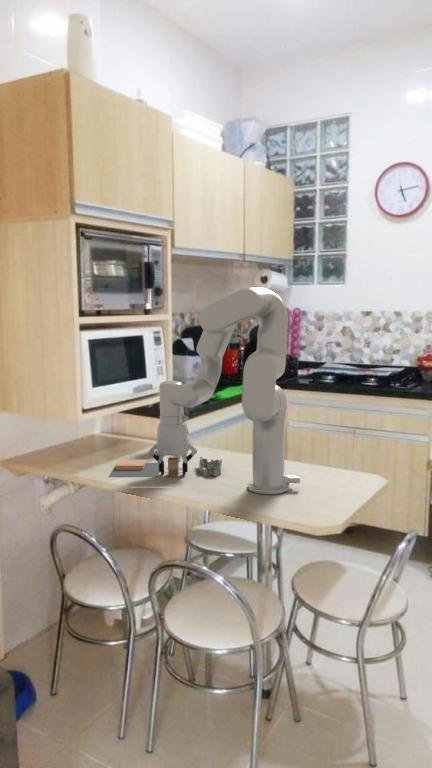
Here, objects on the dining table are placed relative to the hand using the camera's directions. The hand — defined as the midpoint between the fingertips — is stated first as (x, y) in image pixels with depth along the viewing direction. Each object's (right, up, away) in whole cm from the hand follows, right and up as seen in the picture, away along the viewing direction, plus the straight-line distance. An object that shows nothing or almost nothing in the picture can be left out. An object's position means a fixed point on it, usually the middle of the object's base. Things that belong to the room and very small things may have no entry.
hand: (173, 473), depth 191 cm
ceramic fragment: (0, +2, +22) cm, 22 cm away
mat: (-13, 0, +7) cm, 15 cm away
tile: (-11, +2, +10) cm, 14 cm away
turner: (0, 0, +4) cm, 4 cm away
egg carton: (+12, 0, +5) cm, 13 cm away
